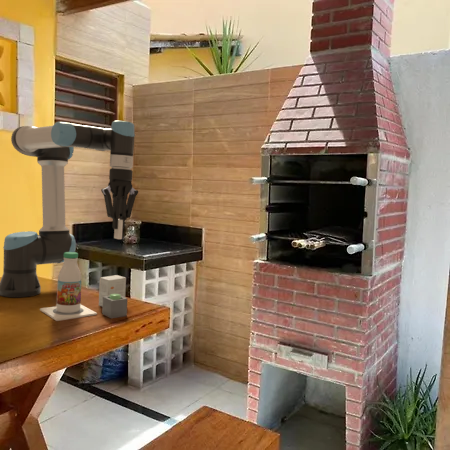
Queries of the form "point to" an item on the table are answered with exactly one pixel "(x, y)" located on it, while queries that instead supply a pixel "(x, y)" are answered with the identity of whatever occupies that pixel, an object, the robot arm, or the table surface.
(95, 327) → the table surface
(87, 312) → the white square plate
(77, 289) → the milk bottle
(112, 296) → the button
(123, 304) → the button box
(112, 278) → the small box
